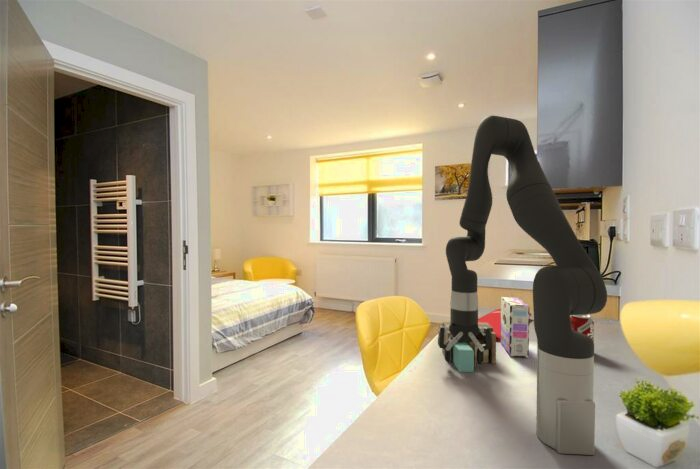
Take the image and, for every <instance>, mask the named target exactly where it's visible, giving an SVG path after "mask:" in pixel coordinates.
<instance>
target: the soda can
mask: <svg viewBox="0 0 700 469" xmlns="http://www.w3.org/2000/svg"><path fill="white" fill-rule="evenodd" d="M570 320H571V327H572V330H574V331H577V332H580V333H582V334H585V335H587V336H589V337H590V338H591V339H592V340H593V342H594V343H595V321H594V320H593V319H592V315H591V314H583V315H570Z"/></svg>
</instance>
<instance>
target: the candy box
mask: <svg viewBox="0 0 700 469" xmlns="http://www.w3.org/2000/svg"><path fill="white" fill-rule="evenodd" d="M500 309H501V340H500V344H501V346H502V347H503V349H504V350H505V351H506V353H507V354H508V356H509V357H514V358H526V359H529V357H530V351H529V350H530V349H529V348H530V318H529V313H530V305H528V304H527V303H526V302H525V301H523V300H522V299H520V298H519V297H510V296H500Z"/></svg>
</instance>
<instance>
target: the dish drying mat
mask: <svg viewBox="0 0 700 469" xmlns="http://www.w3.org/2000/svg"><path fill="white" fill-rule="evenodd" d="M531 317H532V313H531V312H529V319H530V318H531ZM478 322H485V323H488V324H489V325H490V326H492V327H493V332H495V333H496V342H501V308H498V309H495V310H493V311H490V312H489V313H487V314H485V315H482V316H481V317H478Z"/></svg>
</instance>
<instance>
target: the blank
mask: <svg viewBox="0 0 700 469" xmlns="http://www.w3.org/2000/svg"><path fill="white" fill-rule="evenodd" d="M451 363H453V365H454V366H455V368H456V369H457V370H458V372H461V373H464V372H465V373H470V372H471V373H474V372H475V369H474V368H475V362H474V351H473V350H472V348H471V347H470V346H469V345H468V344H467V343H466V342H463V343H459V342H456V344H455V345H453V346H452V347H451Z"/></svg>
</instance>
